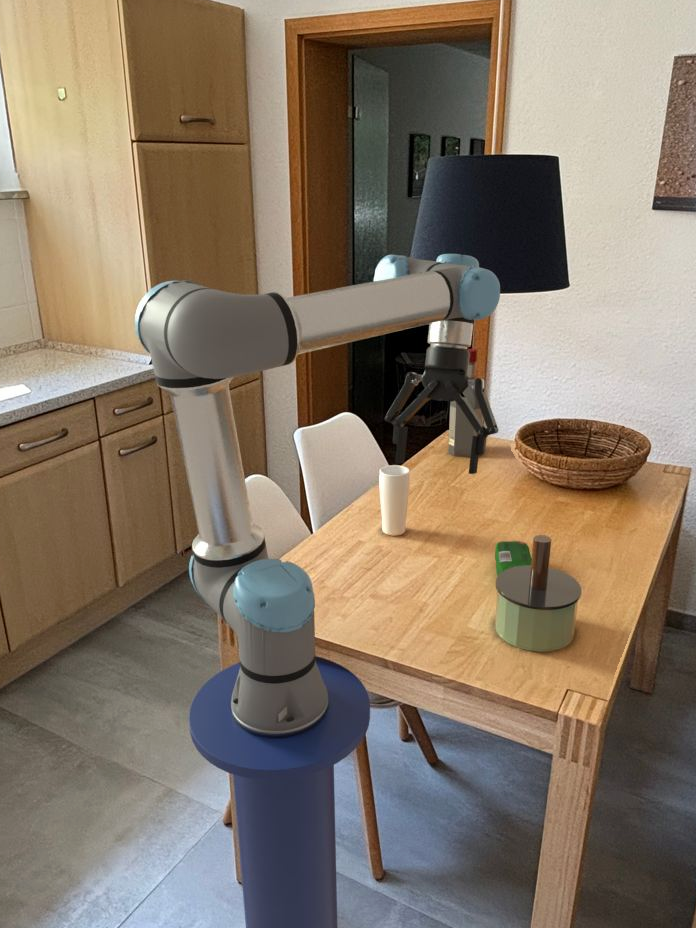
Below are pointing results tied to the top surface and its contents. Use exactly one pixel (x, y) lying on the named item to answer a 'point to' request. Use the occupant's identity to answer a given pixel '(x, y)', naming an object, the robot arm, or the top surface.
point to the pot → (534, 626)
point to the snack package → (511, 555)
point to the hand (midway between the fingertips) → (435, 468)
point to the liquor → (464, 417)
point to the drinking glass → (394, 498)
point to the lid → (538, 582)
